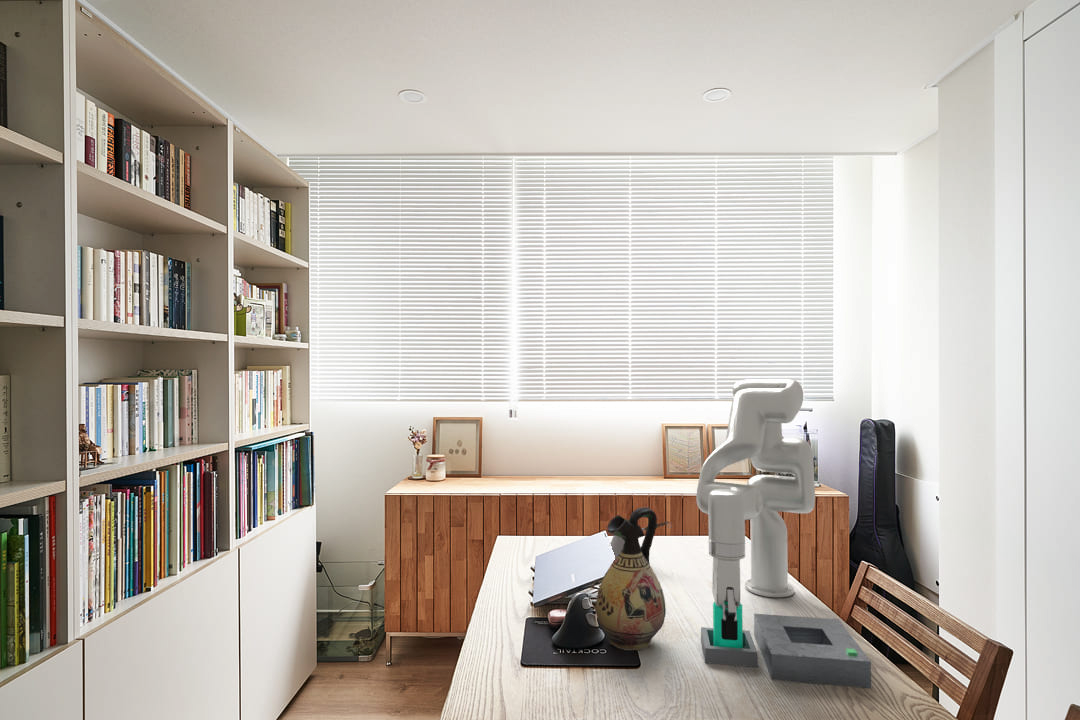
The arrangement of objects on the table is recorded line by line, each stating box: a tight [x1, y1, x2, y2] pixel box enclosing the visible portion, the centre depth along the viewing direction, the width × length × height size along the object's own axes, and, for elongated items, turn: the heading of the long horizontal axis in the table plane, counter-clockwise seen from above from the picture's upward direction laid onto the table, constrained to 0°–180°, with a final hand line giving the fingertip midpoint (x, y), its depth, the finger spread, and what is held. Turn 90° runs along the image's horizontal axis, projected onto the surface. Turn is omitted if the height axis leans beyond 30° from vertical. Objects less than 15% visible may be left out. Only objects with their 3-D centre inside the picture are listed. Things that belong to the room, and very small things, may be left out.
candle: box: [712, 601, 744, 649], centre depth 128 cm, size 6×6×12 cm
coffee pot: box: [609, 518, 672, 559], centre depth 188 cm, size 21×12×15 cm, turn 54°
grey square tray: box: [700, 626, 759, 668], centre depth 128 cm, size 10×10×3 cm
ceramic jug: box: [595, 507, 667, 651], centre depth 134 cm, size 17×15×30 cm
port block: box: [753, 613, 872, 689], centre depth 125 cm, size 20×18×6 cm
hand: (727, 632), depth 128 cm, fingers closed on candle, 5 cm apart
